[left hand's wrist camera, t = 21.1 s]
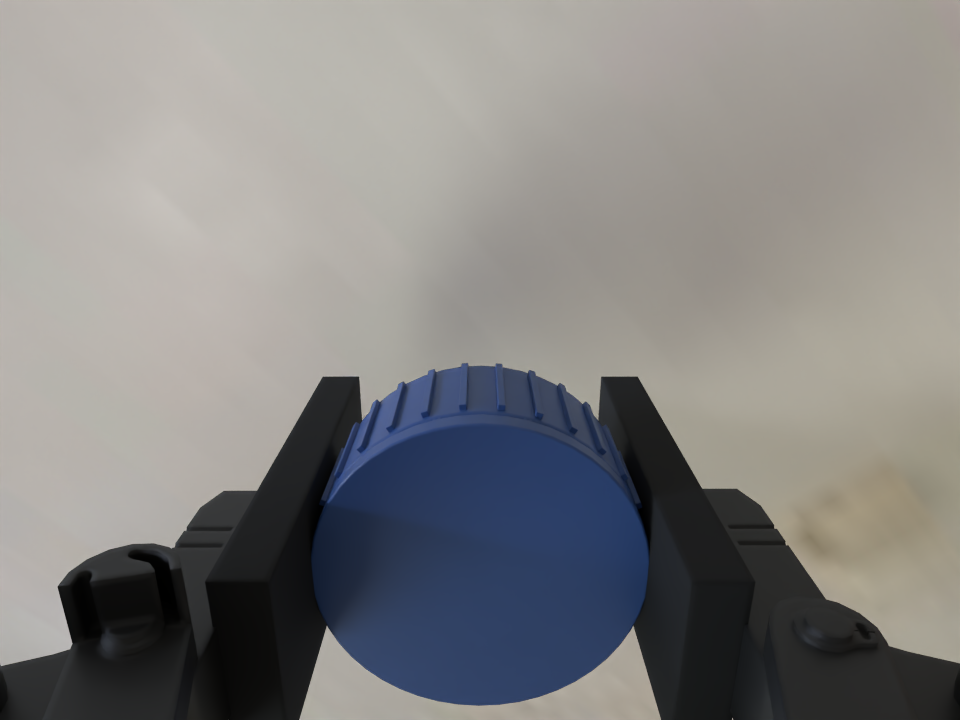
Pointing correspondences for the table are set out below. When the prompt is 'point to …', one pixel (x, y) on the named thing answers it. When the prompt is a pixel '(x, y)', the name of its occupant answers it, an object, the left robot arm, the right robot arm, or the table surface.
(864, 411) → the table surface
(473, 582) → the lid
